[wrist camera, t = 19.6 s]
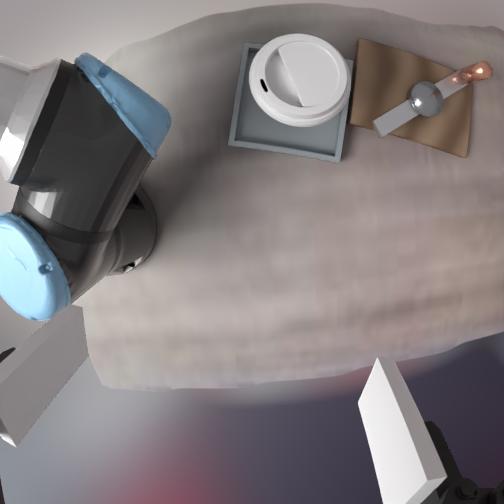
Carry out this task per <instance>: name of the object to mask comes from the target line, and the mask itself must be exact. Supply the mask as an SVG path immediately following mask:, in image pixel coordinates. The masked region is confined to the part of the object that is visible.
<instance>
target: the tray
mask: <svg viewBox="0 0 504 504" xmlns="http://www.w3.org/2000/svg"><path fill="white" fill-rule="evenodd" d="M263 46H264V44H254V43H244V47H243V53H242V58H241V64H240V70H239V76H238V82H237V89H236V95H235V101H234V108H233V114H232V121H231V128H230V135H229V141H228V145H230V146H236V147H244V148H252V149H259V150H266V151H272V152H279V153H285V154H291V155H297V156H303V157H308V158H314V159H319V160H324V161H329V162H334V163H340V158H341V152H342V145H343V139H344V132H345V125H346V118H347V110H348V103H349V98H348V101H347V103H346V104H345V106H344V107H343V109H342V110H341V111H340V112H339V113H338V114H337V115H336V116H335V117H334V118H332V119H331V120H329V121H327V122H325V123H322V124H319V125H316V126H310V127H297V126H291V125H287V124H284V123H281V122H279V121H277V120H275V119H273V118H272V117H270V116H269V115H268V114H267V113H265V112H264V111H263V110H262V109H261V108H260V106H259V105H258V104H257V102H256V101H255V99H254V97H253V95H252V92H251V89H250V84H249V71H250V67H251V64H252V61H253V59H254V57H255V56H256V54H257V53H258V51H259V50H260V49H261V48H262V47H263ZM345 61H346V63H347V65H348V68H349V71H350V76H351V78H352V69H353V60H349V59H345Z"/></svg>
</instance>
